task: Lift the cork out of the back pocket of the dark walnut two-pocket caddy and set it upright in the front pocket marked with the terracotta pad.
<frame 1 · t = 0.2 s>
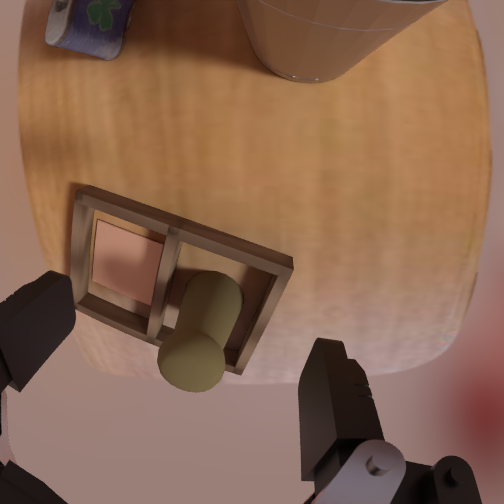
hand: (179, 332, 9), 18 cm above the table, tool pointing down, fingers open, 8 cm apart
cork: (214, 296, 30), resting in caddy
flask: (121, 19, 19), on the table
caddy: (167, 280, 29), on the table
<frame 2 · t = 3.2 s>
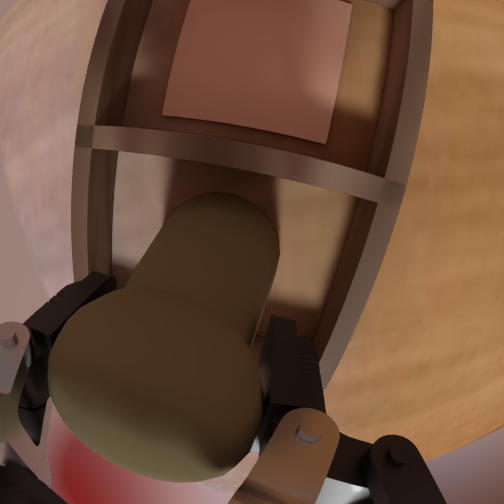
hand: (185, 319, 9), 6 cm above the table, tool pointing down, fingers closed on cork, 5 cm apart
cork: (219, 251, 15), resting in caddy, touching gripper
caddy: (236, 151, 13), on the table
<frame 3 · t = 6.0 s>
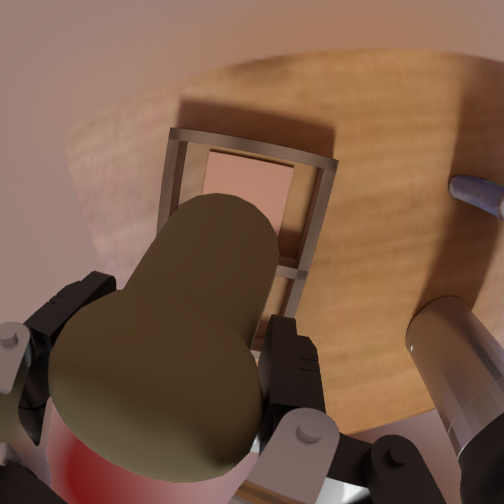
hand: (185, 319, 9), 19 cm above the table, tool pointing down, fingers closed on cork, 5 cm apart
cork: (219, 251, 15), point 13 cm above the table, touching gripper
flask: (477, 190, 24), on the table
caddy: (233, 250, 29), on the table
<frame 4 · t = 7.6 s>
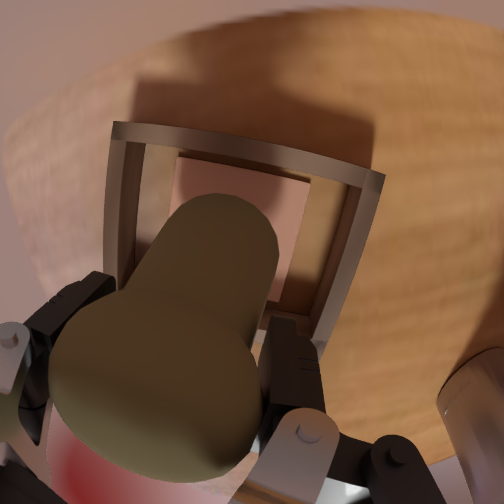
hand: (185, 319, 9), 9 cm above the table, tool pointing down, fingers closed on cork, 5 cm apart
cork: (218, 251, 15), point 3 cm above the table, touching gripper
caddy: (217, 303, 19), on the table
when the fingers open (7 cm above the table, at t = 8.9 s): cork stays where it is, resting on caddy.
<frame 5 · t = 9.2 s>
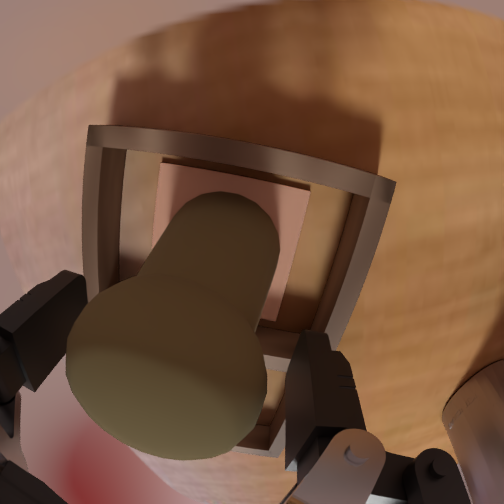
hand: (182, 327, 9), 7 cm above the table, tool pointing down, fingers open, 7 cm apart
cork: (222, 247, 16), resting on caddy
caddy: (209, 322, 17), on the table
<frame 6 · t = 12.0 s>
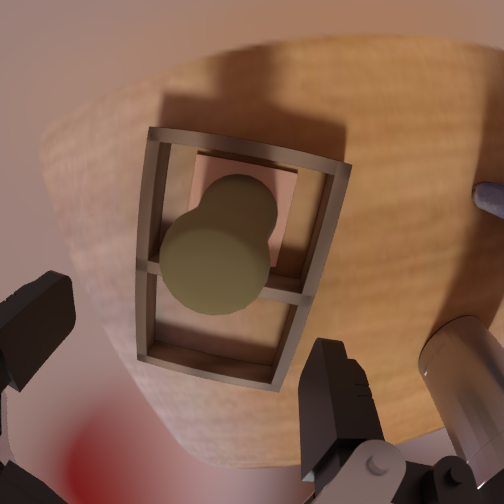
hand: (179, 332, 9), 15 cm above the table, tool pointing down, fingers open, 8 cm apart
cork: (238, 212, 23), resting on caddy
flask: (501, 199, 20), on the table
caddy: (226, 269, 24), on the table
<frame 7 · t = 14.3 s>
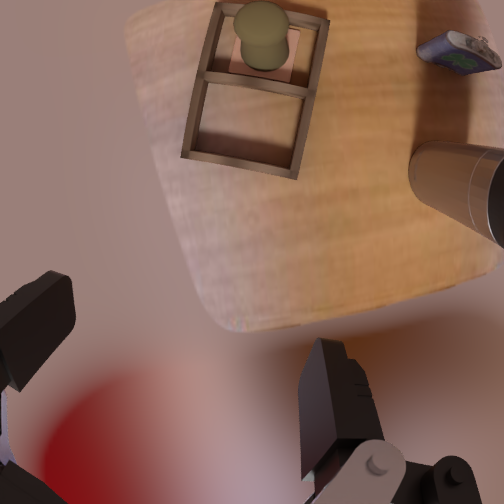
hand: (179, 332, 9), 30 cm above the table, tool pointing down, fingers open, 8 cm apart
cork: (264, 51, 30), resting on caddy
flask: (442, 60, 28), on the table
caddy: (256, 85, 32), on the table
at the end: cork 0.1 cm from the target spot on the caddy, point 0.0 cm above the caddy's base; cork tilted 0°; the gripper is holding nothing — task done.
